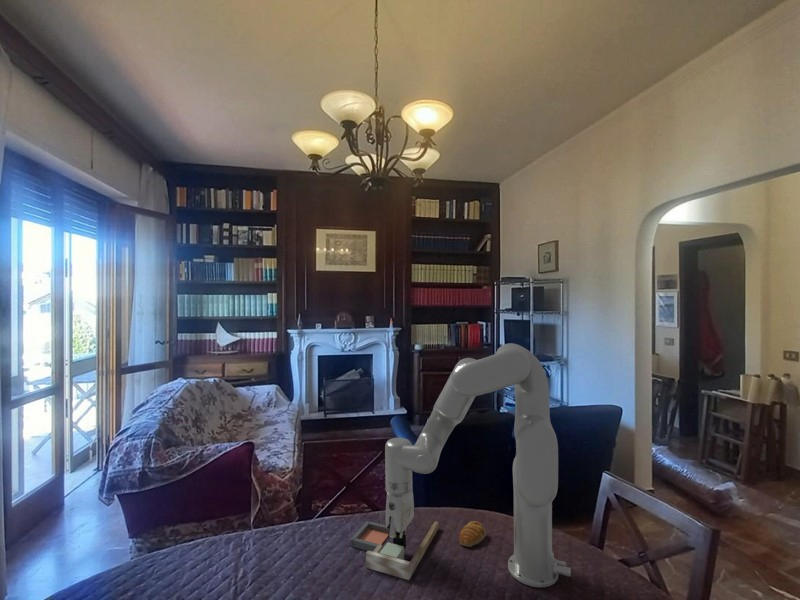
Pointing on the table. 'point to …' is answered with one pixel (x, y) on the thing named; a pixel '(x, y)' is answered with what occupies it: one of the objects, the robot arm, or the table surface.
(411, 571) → the wooden channel walls
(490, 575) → the table surface
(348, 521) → the table surface
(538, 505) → the robot arm
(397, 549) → the block
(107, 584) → the table surface
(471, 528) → the pastry
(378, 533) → the tray
